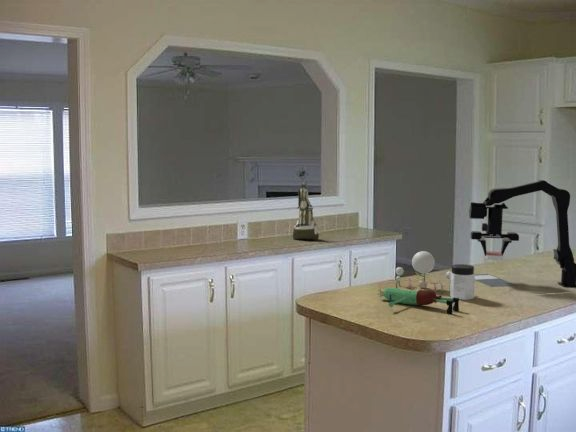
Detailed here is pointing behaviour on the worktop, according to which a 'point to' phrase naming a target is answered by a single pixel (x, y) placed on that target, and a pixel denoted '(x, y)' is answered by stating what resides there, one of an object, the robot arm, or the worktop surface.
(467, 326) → the worktop surface
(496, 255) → the card deck
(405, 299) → the toy
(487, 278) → the mat
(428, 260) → the figurines
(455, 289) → the jar
